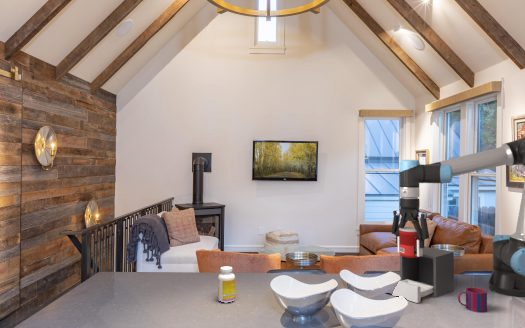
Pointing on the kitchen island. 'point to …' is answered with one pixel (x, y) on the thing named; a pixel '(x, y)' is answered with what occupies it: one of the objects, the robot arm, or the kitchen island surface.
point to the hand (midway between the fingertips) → (409, 253)
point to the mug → (475, 299)
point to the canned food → (408, 242)
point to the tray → (412, 290)
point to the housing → (430, 270)
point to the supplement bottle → (226, 284)
